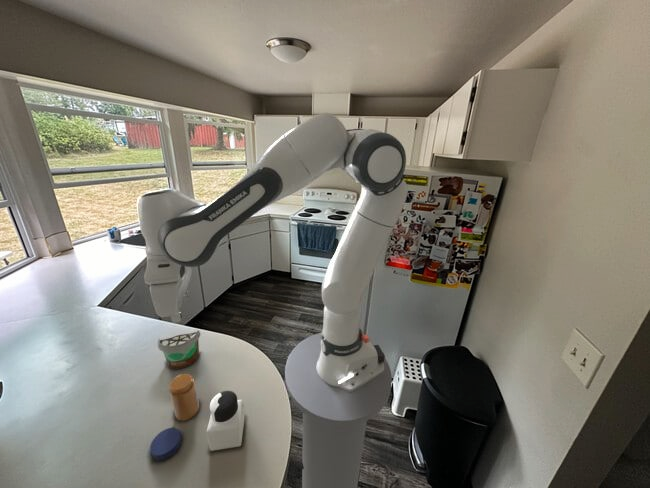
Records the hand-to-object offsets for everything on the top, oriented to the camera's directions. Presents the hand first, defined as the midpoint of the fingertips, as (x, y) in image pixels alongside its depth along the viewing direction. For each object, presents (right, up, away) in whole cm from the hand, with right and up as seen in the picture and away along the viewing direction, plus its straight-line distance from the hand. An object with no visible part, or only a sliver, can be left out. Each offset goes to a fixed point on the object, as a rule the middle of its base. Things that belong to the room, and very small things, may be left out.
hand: (181, 309), depth 63 cm
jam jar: (-1, -29, +5) cm, 30 cm away
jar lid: (-2, -31, -4) cm, 31 cm away
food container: (-11, -23, +20) cm, 32 cm away
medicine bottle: (+12, -32, 0) cm, 34 cm away
